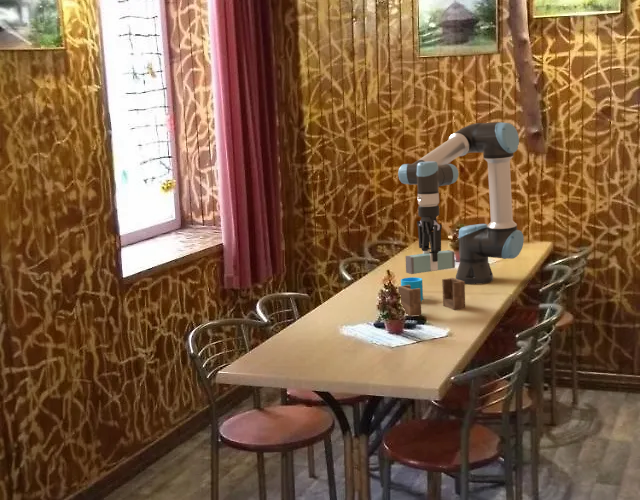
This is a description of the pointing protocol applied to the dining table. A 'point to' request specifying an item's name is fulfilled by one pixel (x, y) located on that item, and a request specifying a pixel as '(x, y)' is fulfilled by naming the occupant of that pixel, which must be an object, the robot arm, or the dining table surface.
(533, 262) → the dining table surface
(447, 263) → the rail
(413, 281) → the mug
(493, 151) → the robot arm
